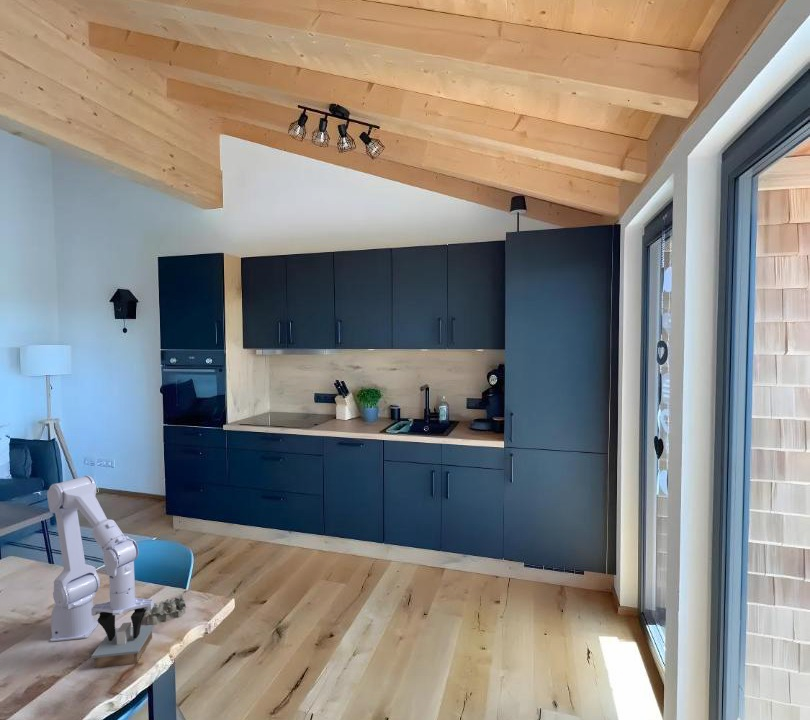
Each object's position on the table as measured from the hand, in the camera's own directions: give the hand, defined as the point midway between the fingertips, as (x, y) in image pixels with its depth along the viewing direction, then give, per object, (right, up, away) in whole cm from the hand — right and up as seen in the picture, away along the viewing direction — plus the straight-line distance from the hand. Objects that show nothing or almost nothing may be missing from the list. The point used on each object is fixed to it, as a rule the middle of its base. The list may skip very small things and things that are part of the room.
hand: (124, 637), depth 124 cm
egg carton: (+2, -4, +17) cm, 17 cm away
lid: (0, -1, 0) cm, 1 cm away
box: (0, -4, 0) cm, 4 cm away
